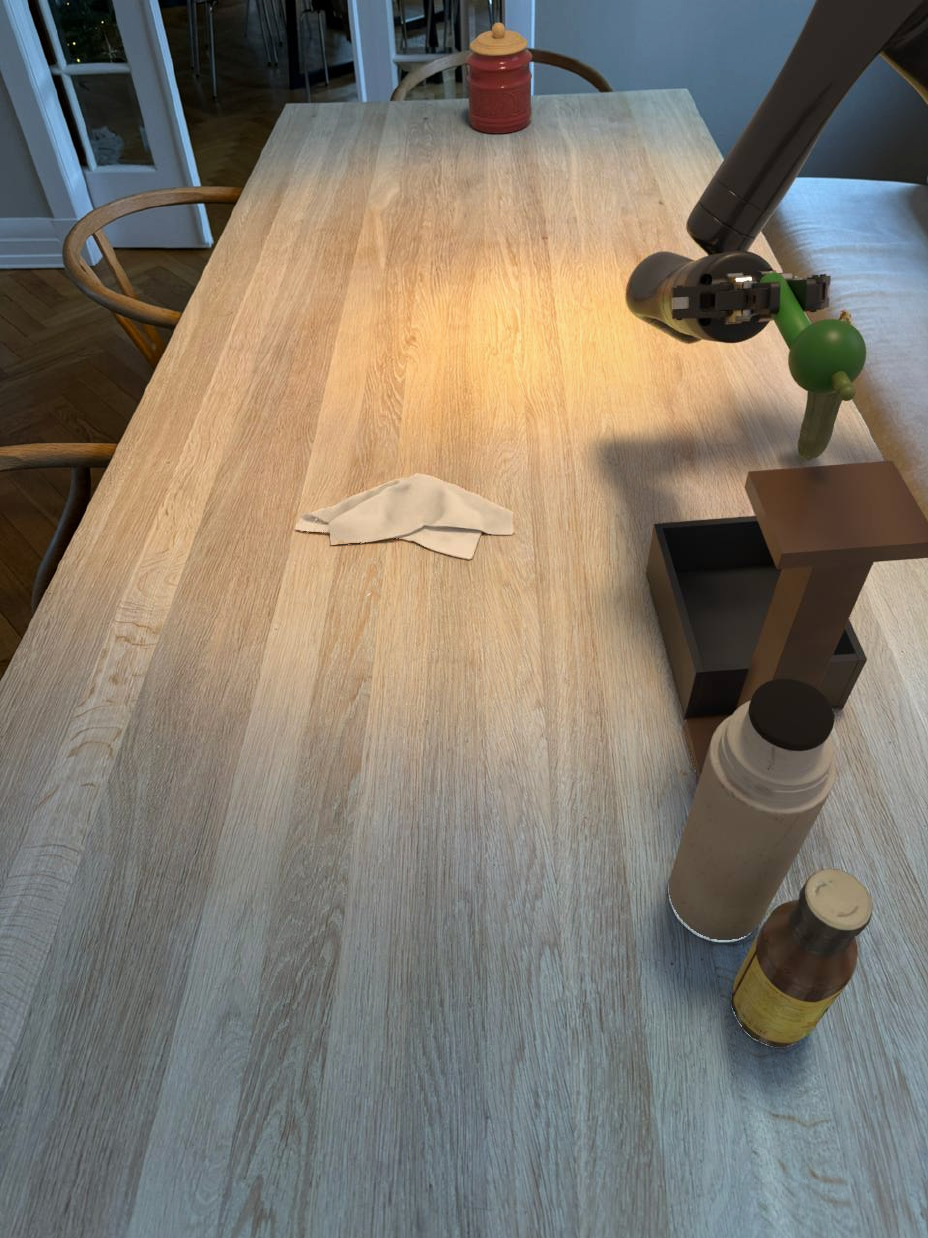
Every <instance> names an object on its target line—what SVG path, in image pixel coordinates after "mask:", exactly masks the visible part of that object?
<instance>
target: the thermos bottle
mask: <svg viewBox="0 0 928 1238" xmlns="http://www.w3.org/2000/svg"><path fill="white" fill-rule="evenodd" d="M834 725H835V712H834V709H833V708H832V706H831V704H830V702H829V701H828V699H827V698H826V697H825V696H824V695H823V694H822V693H821V692H820V691H819V690H817V689H816V688H814V687H813V686H811V685H809V684H807V683H805V682H802V681H798V680H794V679H775V680H771V681H768V682H766V683H764V684H762V685H761V686H760V687H759V688H758V689H756V691H755V692H754V694H753V695H752V698H751V701H748V702H746V703H745V704H743V705H741V706H740V707H739V708H738V709H737V710H736V711H735V712H734V713H733V715H731V716H730V717H728V718H726V719H725V720H724V721H723V722H722V723H721V724H720V725H719V726H718V728H717V729H716V731H715V732H714V734H713V736H712V739H711V743H710V746H709V749H708V752H707V756H706V759H705V763H704V766H703V770H702V773H701V776H700V779H699V783H698V782H697V786H696V788H695V792H694V796H693V798H692V802H691V806H690V809H689V813H688V816H687V818H686V822H685V826H684V829H683V832H682V834H681V835H682V836H681V838H680V843H679V846H678V849H677V851H676V855H675V859H674V862H673V865H672V869H671V872H670V875H669V878H668V882H669V895H670V899H671V902H672V905H673V907H674V909H675V910H676V912H677V914H678V915H679V917H680V918H681V919H682V920H683V922H685V923H686V924H687V925H688V926H689V927H690V928H691V929H693V930H694V931H696V932H697V933H699V934H701V935H703V936H706V937H709V938H710V939H717V940H732V939H739V938H741V937H744V936H747V935H748V934H749V933H751V932H753V931H754V930H755V929H756V928H757V927H758V928H759V926H760V924H761V923H762V921H763V919H764V918H765V915H766V913H767V912H768V909H769V908H770V905H772V902H773V900H774V898H775V896H776V895H777V893H778V891H779V889H780V887H781V885H782V883H783V881H784V879H786V876H787V874H788V872H789V870H790V868H791V867H792V865H793V863H794V861H795V860H796V857H797V856H798V853H799V852H800V850H801V848H802V847H803V845H804V843H805V842H806V839H807V837H808V835H809V833H810V832H811V829H812V828H813V826H814V824H815V822H816V820H817V818H818V816H819V815H820V813H821V811H822V809H823V807H824V805H825V803H827V802H826V801H827V800H828V798H829V796H830V794H831V792H832V791H833V789H834V787H835V783H836V779H837V762H836V759H835V758H836V757H835V742H834V738H833V735H832V731H833V729H834ZM758 925H759V926H758ZM758 928H757V929H758ZM757 929H756V930H757ZM756 930H755V931H756ZM755 931H754V932H755ZM754 932H753V933H754Z"/></svg>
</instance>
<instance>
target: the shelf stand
mask: <svg viewBox="0 0 928 1238" xmlns="http://www.w3.org/2000/svg"><path fill="white" fill-rule="evenodd" d="M744 483H745V484H744V490H745V493H746V495H747V498H748V500H749V502H750V505H751V508H752V510H753V513H754V516H756V518H757V520H758V523H759V525H760V528H761V531H762V533H763V536H764V538H765V541H766V543H767V546H768V548H769V551H770V553H771V556H772V558H773V561H774V563H775V566H776V568H777V569H782V570H781V573H780V576H779V579H778V582H777V585H776V588H775V591H774V595H773V598H772V601H771V604H770V607H769V610H768V613H767V616H766V619H765V622H764V625H763V628H762V631H761V634H760V637H759V640H758V643H757V646H756V649H755V652H754V656H753V659H752V662H751V665H750V668H749V671H748V674H747V677H746V680H745V683H744V686H743V689H742V692H741V695H740V698H739V701H738V704H737V707H736V710H737V709H738V708H739V707H740V706H741V705H743V704H745V703H746V702H748V701H751V698H752V695H753V694H754V692H755V691H756V689H758V688H759V687H760V686H761V685H762V684H764V683H766V682H768V681H771V680H775V679H794V680H798V681H802V682H805V683H807V684H809V685H811V686H813V687H814V688H816V689H817V690H818V688H819V685H820V683H821V681H822V679H823V676H824V674H825V672H826V669H827V667H828V665H829V663H830V660H831V658H832V656H833V654H834V651H835V649H836V647H837V644H838V642H839V640H840V638H841V635H842V633H843V631H844V628H845V626H846V624H847V622H848V619H849V620H850V618H851V615H852V613H853V610H854V608H855V606H856V603H857V601H858V599H859V597H860V594H861V592H862V589H863V587H864V585H865V583H866V581H867V578H868V576H869V573H870V571H871V569H872V566H873V565H874V563H881V562H893V561H894V562H895V561H907V560H918V559H919V560H921V559H928V519H927V517H926V516H925V514H924V513H923V511H922V509H921V507H920V505H919V503H918V502H917V500H916V498H915V497H914V495H913V493H912V492H911V490H910V489H909V486H908V485H907V483H906V481H905V480H904V478H903V476H902V474H901V472H900V471H899V469H898V467H897V466H896V464H895V462H894V461H893V460H881V461H880V460H879V461H878V460H877V461H867V462H865V461H864V462H853V463H839V464H827V465H815V466H814V465H813V466H800V467H788V468H787V467H786V468H774V469H773V468H772V469H762V470H749V471H748V472H747V476H746V479H745V482H744ZM736 710H735V711H736ZM730 716H731V715H724V716H711V717H698V718H686V720H684V724H683V729H684V733H685V737H686V741H688V742H687V745H689V746H688V749H689V748H690V750H689V753H690V752H691V753H690V756H692V757H691V761H692V760H693V761H692V765H693V764H694V765H693V768H694V767H695V769H694V771H695V770H696V773H695V775H696V774H697V776H696V780H697V779H698V780H697V783H698V782H699V779H700V776H701V773H702V770H703V766H704V763H705V759H706V756H707V752H708V749H709V746H710V743H711V739H712V736H713V734H714V732H715V731H716V729H717V728H718V726H719V725H720V724H721V723H722V722H723V721H724V720H725V719H726V718H728V717H730Z"/></svg>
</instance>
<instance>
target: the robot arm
mask: <svg viewBox="0 0 928 1238" xmlns="http://www.w3.org/2000/svg"><path fill="white" fill-rule="evenodd" d="M878 57H881V58H882V59H883V60H884V61H885V62H887V64H889V65H890V66H891V67H892V68H893V69H894V70H895V71H896V72H897V73H898V74H900V76H901V77H902V78H903V79H904V80H906V81H907V82H908V84H910V86H912V87H913V89H915V91H916V92H917V93H918V94H919V95H920V96H921V97H922V99H923V100H924V102H925V103H926V105H928V0H815V1H814V3H813V5H812V8H811V9H810V12H809V14H808V16H807V19H806V20H805V22H804V25H803V27H802V29H801V31H800V33H799V35H798V37H797V38H796V41H795V43H794V45H793V46H792V48H791V50H790V52H789V54H788V56H787V57H786V60H785V62H784V63H783V65H782V66H781V69H780V71H778V72H779V73H778V74H777V76H776V77H775V79H774V81H773V83H772V85H771V86H770V88H769V90H768V91H767V93H766V94H765V96H764V98H763V99H762V101H761V102H760V104H759V105H758V106H757V109H756V110H755V112H754V113H753V114H752V116H751V118H750V120H749V121H748V123H747V124H746V126H745V127H744V128H743V130H742V131H741V133H740V134H739V136H738V138H737V139H736V141H735V142H734V144H733V146H732V147H731V149H730V150H729V151H728V153H727V155H726V156H725V158H724V159H723V161H722V162H721V164H720V165H719V167H718V169H717V170H716V172H715V173H714V175H713V176H712V178H711V179H710V181H709V183H708V184H707V186H706V188H705V189H704V191H703V192H702V194H701V196H700V197H699V199H698V201H697V202H696V204H695V205H694V206H693V208H692V210H691V212H690V214H689V215H688V217H687V220H686V223H685V230H686V233H687V235H688V237H690V239H691V240H692V241H693V242H694V243H695V244H696V245H697V246H698V247H699V248H700V249H701V250H702V251H703V252H704V253H705V254H706V256H705V255H704V256H702V257H700V258H698V259H697V260H696V259H692V258H690V257H688V256H685V255H681V254H678V253H675V252H672V251H667V250H663V251H657V252H654V253H652V254H650V255H648V256H646V257H644V259H642V260H641V261H640V262H639V263H638V264H637V265H636V266H635V268H634V269H633V271H632V272H631V274H630V275H629V278H628V280H627V283H626V287H625V298H624V299H625V303H626V306H627V309H628V310H629V312H630V314H632V315H633V316H634V317H635V318H637V319H639V320H641V321H642V322H644V323H646V324H648V325H649V326H651V327H653V328H655V329H657V330H659V331H660V332H661V333H664V334H666V335H668V336H669V337H671V338H672V339H674V340H676V341H678V342H680V343H683V344H685V345H686V344H687V345H691V344H696V343H699V342H700V341H703V340H704V341H708V342H715V343H722V344H723V343H724V344H738V343H742V342H745V341H748V340H750V339H752V338H754V337H756V336H757V335H758V334H760V333H761V332H762V331H764V329H765V328H766V327H768V325H769V324H770V322H774V320H773V318H772V316H771V314H778V312H779V309H780V290H781V286H780V282H763V283H760V281H761V279H762V278H763V277H764V276H765V275H767V274H769V273H779V274H781V275H782V276H783V277H784V278H785V280H786V282H787V284H788V285H789V287H790V289H791V291H792V292H793V294H794V296H795V297H796V299H797V301H798V303H799V304H800V306H801V308H802V310H803V311H804V313H805V312H809V313H817V312H818V311H821V310H825V309H828V308H829V306H830V295H831V280H832V279H831V278H832V276H831V275H827V273H822V274H812V275H811V276H809V277H806V278H805V277H800V275H796V276H793V273H792V272H791V271H786V272H785V271H784V272H777V271H776V270H774V269H773V267H772V266H771V264H770V263H769V262H768V261H767V260H766V259H765V258H764V257H762V256H761V255H759V254H757V253H754V252H752V251H749V250H750V248H751V247H752V245H753V243H754V242H755V241H756V239H757V238H758V236H759V235H760V233H761V232H762V231H763V229H764V227H765V226H766V225H767V223H768V222H769V220H770V219H771V217H772V216H773V215H774V213H775V212H776V211H777V209H778V207H779V206H780V204H782V203H781V202H782V201H783V200H784V198H785V197H786V196H787V194H788V192H789V190H790V189H791V187H792V186H793V184H794V182H795V181H796V179H797V177H798V176H799V174H800V172H801V170H802V168H803V167H804V165H805V163H806V162H807V160H808V158H809V156H810V154H811V153H812V151H813V150H814V148H815V145H816V144H817V142H818V140H819V138H820V137H821V135H822V133H823V131H824V130H825V128H826V127H827V125H828V123H829V122H830V120H831V119H832V117H833V116H834V114H835V112H836V111H837V109H838V108H839V107H840V105H841V103H843V101H844V99H845V98H846V96H847V95H848V94H849V92H850V91H851V90H852V88H853V87H854V86H855V84H856V83H857V82H858V81H859V79H860V78H861V77H862V76H863V75H864V73H866V71H867V70H868V69H869V68H870V66H871V65H872V64H873V62H875V60H876V59H877V58H878Z"/></svg>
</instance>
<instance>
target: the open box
mask: <svg viewBox="0 0 928 1238" xmlns="http://www.w3.org/2000/svg"><path fill="white" fill-rule="evenodd" d="M647 556H648V557H647V563H646V570H645V578H646V581H647V585H648V589H649V592H650V596H651V600H652V604H653V608H654V612H655V616H656V619H657V623H658V626H659V630H660V634H661V638H662V642H663V645H664V650H665V655H666V657H667V661H668V665H669V669H670V672H671V676H672V680H673V683H674V687H675V691H676V695H677V699H678V703H679V707H680V710H681V715H682V718H684V719H683V720H684V721H685V720H686V718H698V717H711V716H724V715H733V713H734V712H735V710H736V707H737V704H738V701H739V698H740V695H741V692H742V689H743V686H744V683H745V680H746V677H747V674H748V671H749V668H750V665H751V662H752V659H753V656H754V652H755V649H756V646H757V643H758V640H759V637H760V634H761V631H762V628H763V625H764V622H765V619H766V616H767V613H768V610H769V607H770V604H771V601H772V598H773V595H774V591H775V588H776V585H777V582H778V579H779V576H780V573H781V570H782V569H777V568H776V566H775V563H774V561H773V558H772V556H771V553H770V551H769V548H768V546H767V543H766V541H765V538H764V536H763V533H762V531H761V528H760V525H759V523H758V520H757V518H756V515H747V516H734V517H722V518H708V519H707V518H706V519H696V520H695V519H694V520H683V521H682V520H681V521H670V522H669V521H668V522H657V523H653V525H652V530H651V537H650V544H649V551H648V555H647ZM867 661H868V658H867V655H866V653H865V651H864V648H863V647H862V645H861V642H860V639H859V638H858V635H857V633H856V631H855V629H854V626H853V625H852V622H851V620H850V618H849V619H848V622H847V624H846V626H845V628H844V631H843V633H842V635H841V638H840V640H839V642H838V644H837V647H836V649H835V651H834V654H833V656H832V658H831V660H830V663H829V665H828V667H827V669H826V672H825V674H824V676H823V679H822V681H821V683H820V685H819V688H818V690H819V691H820V692H821V693H822V694H823V695H824V696H825V697H826V698H827V699H828V701H829V702H830V704H831V706H832V708H833V710H837V709H844V708H845V706H846V704H847V702H848V700H849V698H850V696H851V694H852V691H854V687H855V685H856V683H857V682H858V679H859V677H860V675H861V674H862V671H863V670H864V667H865V665H866V663H867Z"/></svg>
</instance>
